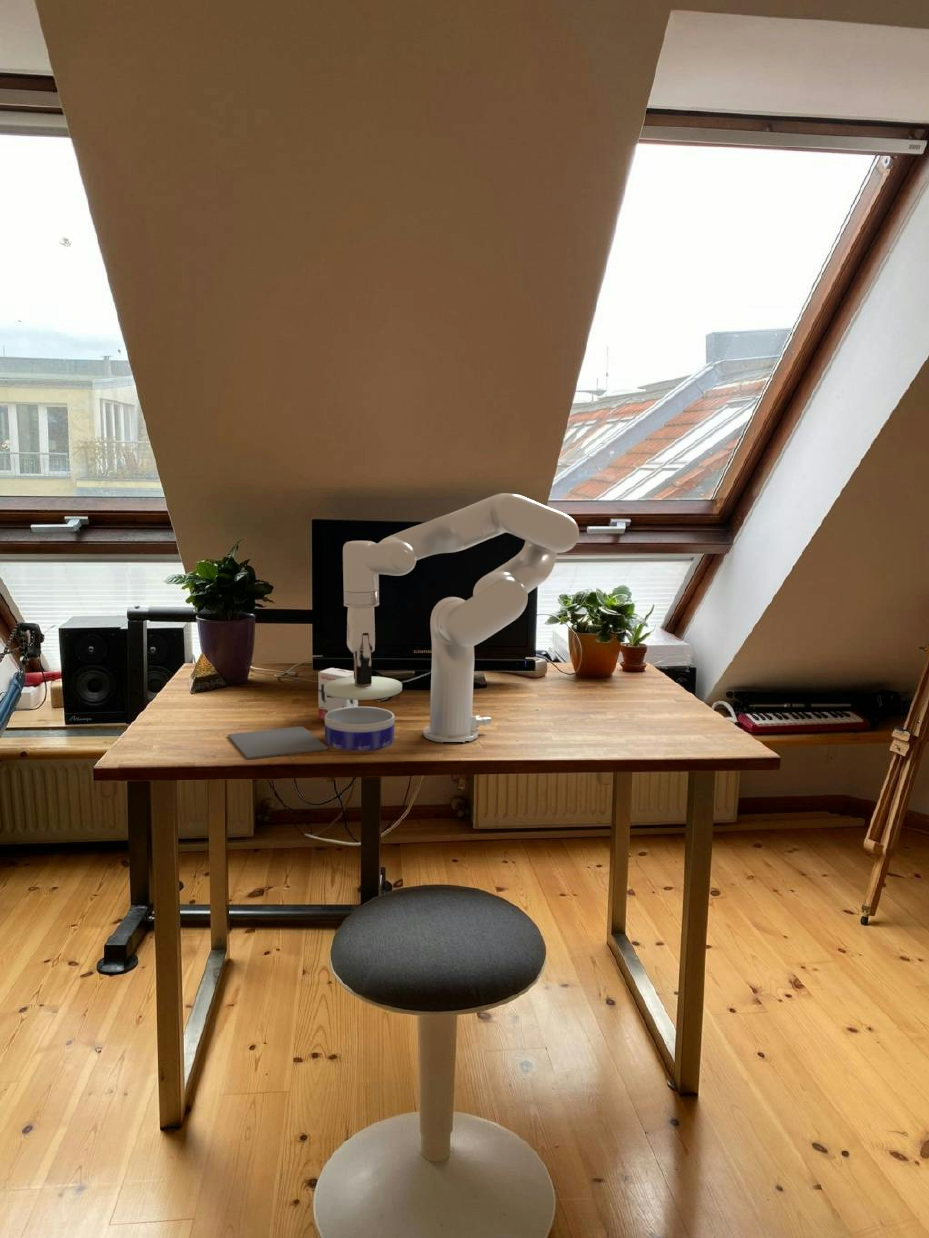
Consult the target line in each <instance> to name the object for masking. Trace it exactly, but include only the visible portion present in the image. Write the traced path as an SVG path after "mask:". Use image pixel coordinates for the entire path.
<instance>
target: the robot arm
mask: <svg viewBox="0 0 929 1238" xmlns="http://www.w3.org/2000/svg"><path fill="white" fill-rule="evenodd" d="M505 533H508V534H510V535H513V536H515V537H518V538H519V539H522V540H524V541H525V542H524V545H523V547H522V549H521V550H520V551H519V552H518V553H517V554H516V555H515V556H514V557H511V559H509V560H508V561H507V562H505V563H503V564H502V565H500V566H499V567H497V568H495V569H494V570H493V571H490V572H489V573H487V574H486V575H483V576H482V577H481V578H480V579H478V581H477V582H476V583H475V585H474V587H473V591H472V596H471V597H470V598H468V599H467V600H466V599H463V598H461V597H457V596H448V597H445V598H442V599H441V600H439V601H438V602H437V603H436V605H435V606H434V607H433V609H432V611H431V614H430V615H431V616H430V620H429V621H430V623H429V625H430V627H429V628H430V637H431V670H430V672H431V674H430V675H431V679H430V708H429V710H430V713H429V715H430V716H429V717H430V718H429V725H426V726H425V727H424V728H423V730H422V735H423V737H425V739H428V741H429V740H430V741H433V742H437V743H443V742H463V743H466V742H465V741H469V742H472V741H474V739H475V740H477V738H478V737H479V730H478V729H477V728H479V727H480V726H488V725H491V724H492V718H491V717H490V716H482V717H481V716H480V715H474V714H473V703H474V701H473V699H474V678H475V677H474V674H475V673H474V670H475V646H476V645H478V644H480V643H482V642H484V641H485V640H487V639H488V638H491V637H492V636H493V635H495V634H496V633H498V632H499V631H501V630H503V628H505V627H506V626H508V625H511V623H512V622H514V621H516V620H517V619H519V617H520V616H521V615H522V614H523V612H524V611H525V609H526V607H527V605H528V601H529V600H528V599H529V596H528V594H530V592H532V591H533V590H534V589H536V588H537V587H539V586H540V585H541V584H542V583H544V581H546V580H547V579H548V578H549V576H550V575H551V574H552V572H553V569H554V567H555V563H556V560H557V558H558V557H557V556H558V553H559V554H561V553H566V552H568V551H570V550H572V549H573V548H574V547H575V546H576V545H577V543H578V541H579V538H580V529H579V526H578V523H577V522H576V521H575V519H574V518H572V516H570V515H568V514H566V513H563V512H561V511H559V510H557V509H554V508H551V507H549V506H547V505H544V504H542V503H540V502H537V501H535V500H533V499H530V498H527V497H526V496H523V495H521V494H516V493H507V492H506V493H505V492H504V493H503V492H502V493H501V492H500V493H498V494H495V495H492V496H488V497H487V498H484V499H482V500H480V501H478V502H475V503H473V504H470V505H468V506H465V507H463V508H460V509H458V510H455V511H453V512H450V513H448V514H444V515H441V516H439V517H435V518H434V519H431V520H429V521H426V522H422V523H420V524H418V525H415V526H411V527H409V528H406V529H403V530H401V531H399V532H396V533H394V534H391V535H389V536H387V537H385V538H383V539H381V540H380V541H379V542H377V543H376V542H374V541H371V540H351V541H346V542H345V543H344V544H343V548H342V563H343V564H342V572H343V573H342V574H343V606H344V607H347V614H346V615H347V616H346V617H347V618H346V621H347V622H346V623H347V625H346V629H347V630H346V646H347V648H348V649H349V651H350V652H351V654H353V659H354V658H357V659H358V666H356V673H357V684H358V685H361V684H371V683H372V676H373V674H372V673H373V672H372V671H373V670H372V653H373V652H374V651H375V650H376V649H375V647H376V646H375V645H376V632H375V631H376V627H375V626H376V624H375V621H376V620H375V607H378V606H379V605H380V588H379V587H380V583H379V582H380V579H379V578H380V577H379V575H386V576H387V575H388V576H396V577H397V576H398V577H399V576H404V575H407V574H408V573H410V572H411V571H413V569H414V568H415V566H416V563H417V561H419V560H421V559H425V558H427V557H430V556H433V555H439V554H448V553H449V554H450V553H457V552H460V551H463V550H467V549H469V548H472V547H474V546H476V545H478V544H480V543H483V542H485V541H487V540H489V539H493V538H495V537H497V536H500V535H503V534H505ZM353 671H354V679H355V665H354V664H353Z"/></svg>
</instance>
